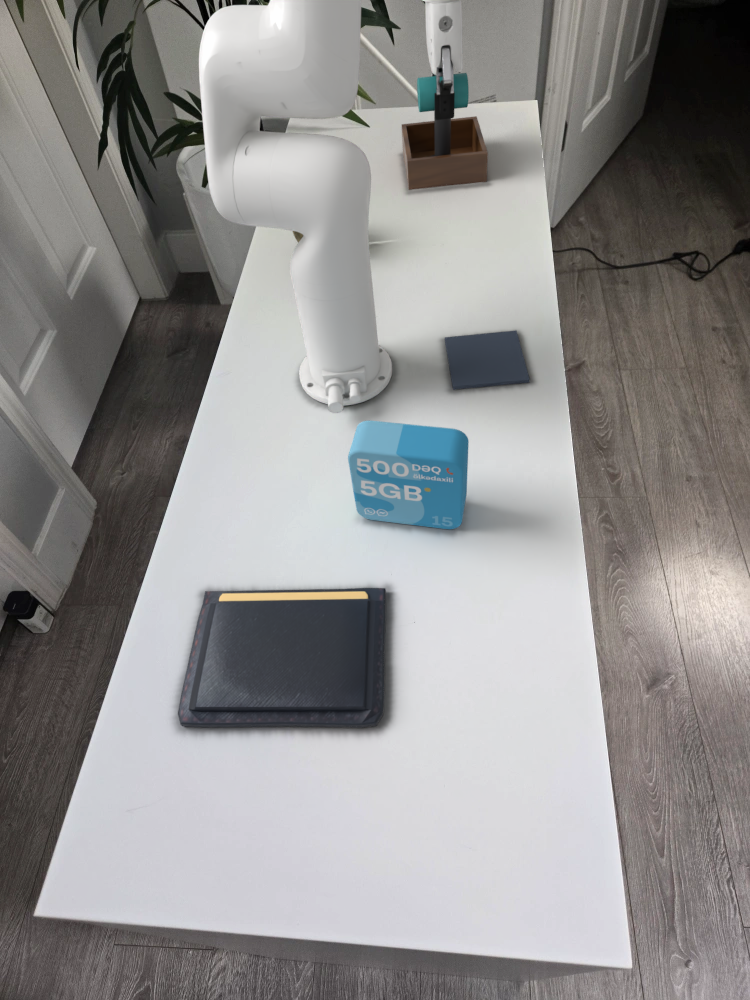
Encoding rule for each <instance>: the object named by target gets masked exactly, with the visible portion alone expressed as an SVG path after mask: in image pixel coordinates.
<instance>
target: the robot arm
mask: <svg viewBox="0 0 750 1000" xmlns="http://www.w3.org/2000/svg"><path fill="white" fill-rule="evenodd" d="M421 1H422V2H424V5H425V7H424V12H425V13H424V14H425V40H426V51H427V58H428V61H429V66H430V70H431V76H436V93H434V95H435V119H436V120H442V119H455V118H454V117H455V109H454V97H455V92H454V78H453V74H455V73H454V72H456V73H457V74H459V73H463V70H464V56H463V55H464V53H463V51H464V50H463V47H464V45H463V7H462V5H463V4H462V0H421ZM361 30H362V0H269V1H268V4H267V5H265V4H264V5H263V4H232V5H228V6H225V7H221V8H219V9H218V10H216V11H215V12H214V13H212V14H211V16H210V17H209V19H208V20H207V22H206V24H205V26H204V29H203V32H202V35H201V38H200V39H201V40H200V44H199V50H198V51H199V52H198V75H199V77H198V78H199V81H198V82H199V91H200V92H199V93H200V103H201V104H200V105H201V119H202V128H203V129H202V130H203V139H204V151H205V152H204V153H205V163H206V175H207V181H208V188H209V193H210V197H211V200H212V203H213V205H214V207H215V209H216V211H217V212H218V214H219V215H220V216H221V217H222V218H223V219H225V221H226V220H227V221H228V222H231V223H232V224H233V223H234V224H236V225H241V226H249V227H258V228H266V229H276V230H284V231H291V232H293V231H296V232H299V233H301V234H303V237H302V239H301V240H300V241H299V243H298V242H297V244H296V246H295V247H294V249H293V251H292V253H291V256H290V260H289V274H290V279H291V284H292V288H293V293H294V298H295V303H296V308H297V312H298V313H297V314H298V318H299V322H300V327H301V332H302V333H301V334H302V336H303V337H302V338H303V342H304V347H305V353H306V356H305V357H304V358H303V360H302V362H301V363H300V366H299V369H298V370H299V372H298V373H299V375H298V376H299V382H300V384H301V386H302V387H301V388H302V389H303V390H304V391H305V393H306V394H307V395H308V396H310V398H312V399H314V400H315V401H317V402H320V403H323V404H325V405H327V408H328V411H329V412H330V413H332V414H340V413H341V412H342V411H343V410H344V406H350V405H351V406H352V405H357V404H360V403H363V402H366V401H368V400H371V399H373V398H374V397H376V396H378V395H379V394H380V393H381V392H382V391H384V390H385V388H386V387H387V386H388V384H389V383H390V381H391V378H392V375H393V363H392V358H391V357H390V354H389V353H388V351H387V350H386V349H385V348H384V347H383V346H381V345H379V335H378V326H377V317H376V306H375V295H374V287H373V275H372V269H371V268H372V265H371V254H370V242H369V239H370V238H369V236H370V235H369V225H370V224H369V223H370V222H369V219H370V207H371V206H370V205H371V193H372V192H371V191H372V173H371V171H372V170H371V166H370V161H369V159H368V157H367V155H366V153H365V152H364V151H363V149H361V148H360V147H359V146H358V145H357V144H355V143H354V142H352V141H350V140H348V139H345V138H343V137H338V136H334V135H328V134H321V133H319V134H318V133H304V132H303V133H302V132H281V131H268V130H267V131H264V130H260V128H261V118H262V117H269V118H284V119H301V120H302V119H304V120H329V119H337V118H340V117H343V116H345V115H346V114H348V113H349V112H350V111H351V109H352V108H353V107H354V105H355V104H356V100H357V95H358V90H359V81H360V67H361V33H362V32H361ZM440 77H443V78H442V80H441V82H440Z"/></svg>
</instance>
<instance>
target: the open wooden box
mask: <svg viewBox="0 0 750 1000" xmlns="http://www.w3.org/2000/svg"><path fill="white" fill-rule="evenodd" d="M401 142H402V143H401V144H402V154H403V155H402V156H403V162H404V168H405V176H406V181H407V189H408V190H409V191H413V190H420V189H421V190H422V189H428V188H429V189H430V188H431V189H432V188H441V187H451V186H460V185H467V184H469V185H470V184H478V183H479V184H480V183H487V181H488V163H489V162H488V161H489V160H488V159H489V152H488V148H487V146H486V142H485V139H484V136H483V132H482V129H481V126H480V122H479V119H478V117H477V116H465V117H458V118H457V117H456V118H451V155H442V156H432V155H434V154H435V132H434V120H430V121H429V120H428V121H420V122H419V121H418V122H411V123H402V124H401ZM430 156H432V157H430Z"/></svg>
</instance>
